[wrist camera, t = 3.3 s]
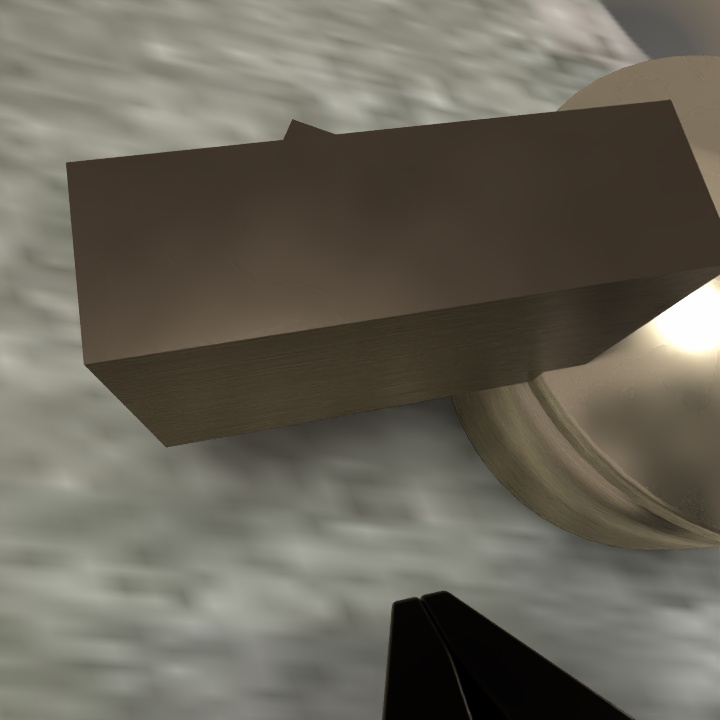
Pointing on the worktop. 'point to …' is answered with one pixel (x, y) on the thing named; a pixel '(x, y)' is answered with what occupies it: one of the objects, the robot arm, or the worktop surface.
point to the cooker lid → (431, 277)
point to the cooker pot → (552, 464)
